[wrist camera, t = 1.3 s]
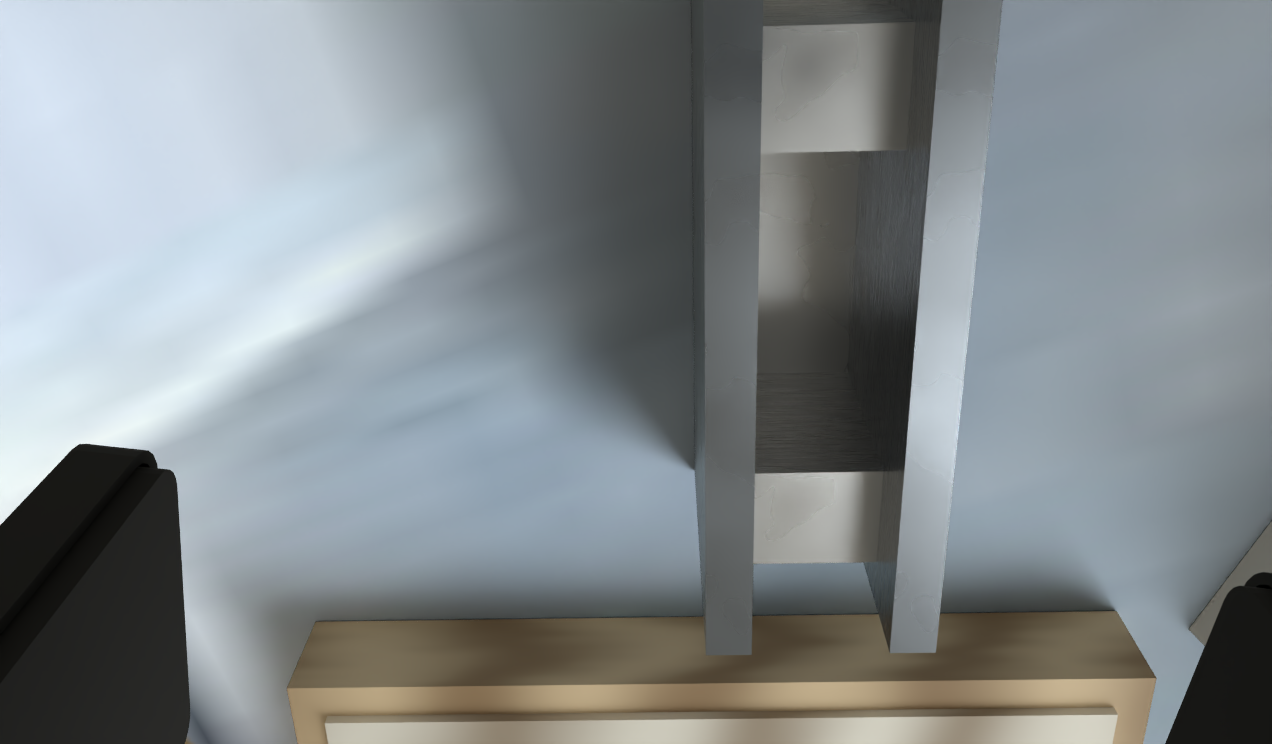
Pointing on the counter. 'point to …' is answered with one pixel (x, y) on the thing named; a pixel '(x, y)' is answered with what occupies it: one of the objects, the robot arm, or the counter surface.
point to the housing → (833, 291)
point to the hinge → (1236, 582)
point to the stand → (722, 682)
